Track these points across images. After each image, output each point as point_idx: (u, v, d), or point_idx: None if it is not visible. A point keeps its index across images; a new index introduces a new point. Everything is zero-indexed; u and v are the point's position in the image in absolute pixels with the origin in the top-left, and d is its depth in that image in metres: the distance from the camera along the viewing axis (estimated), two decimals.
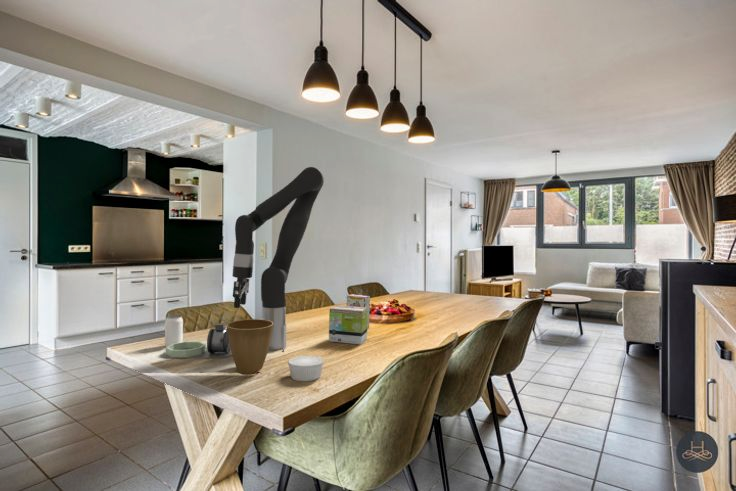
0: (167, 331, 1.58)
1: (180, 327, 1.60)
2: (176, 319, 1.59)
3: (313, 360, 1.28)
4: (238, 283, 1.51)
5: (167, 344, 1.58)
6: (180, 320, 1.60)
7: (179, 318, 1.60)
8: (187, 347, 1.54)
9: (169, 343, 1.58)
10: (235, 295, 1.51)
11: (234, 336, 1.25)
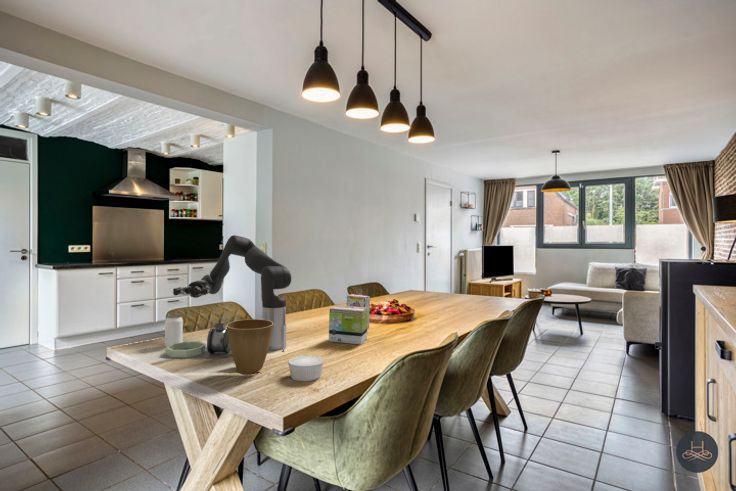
0: (167, 331, 1.58)
1: (180, 327, 1.60)
2: (176, 319, 1.59)
3: (313, 360, 1.28)
4: None
5: (167, 344, 1.58)
6: (180, 320, 1.60)
7: (179, 318, 1.60)
8: (187, 347, 1.54)
9: (169, 343, 1.58)
10: None
11: (234, 336, 1.25)
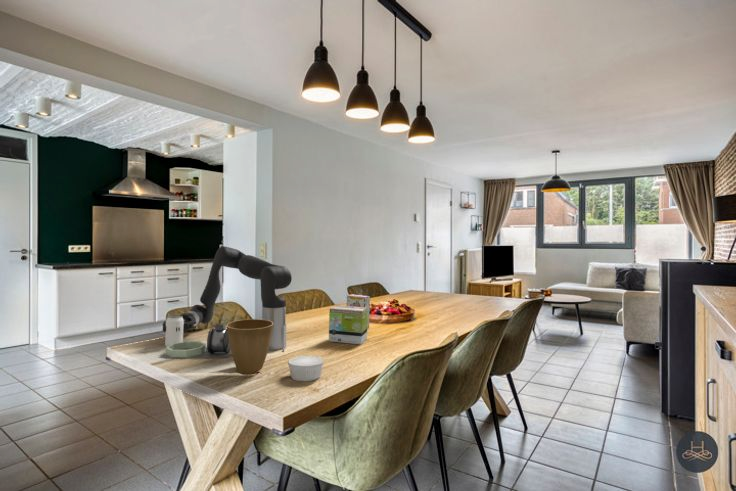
0: (168, 331, 1.58)
1: (181, 327, 1.60)
2: (177, 319, 1.59)
3: (313, 360, 1.28)
4: None
5: (168, 344, 1.58)
6: (181, 320, 1.61)
7: (180, 318, 1.60)
8: (187, 347, 1.54)
9: (170, 343, 1.58)
10: None
11: (234, 336, 1.25)
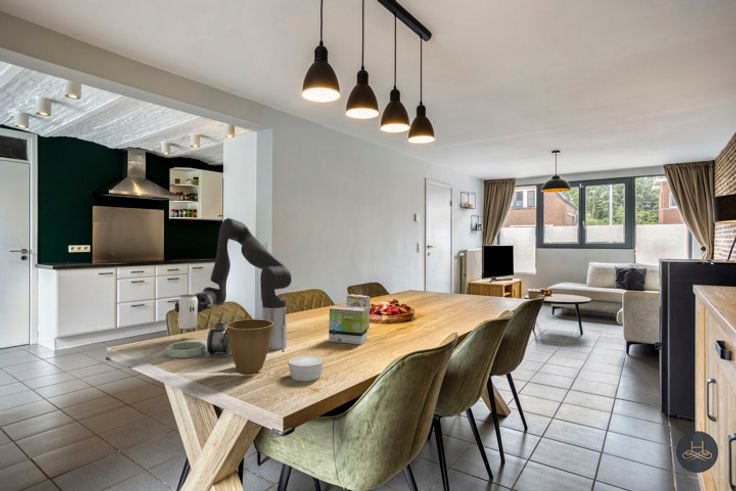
0: (181, 311, 1.46)
1: (195, 307, 1.48)
2: (191, 298, 1.47)
3: (313, 360, 1.28)
4: None
5: (181, 325, 1.46)
6: (195, 299, 1.48)
7: (194, 297, 1.48)
8: (187, 347, 1.54)
9: (183, 324, 1.46)
10: None
11: (234, 336, 1.25)
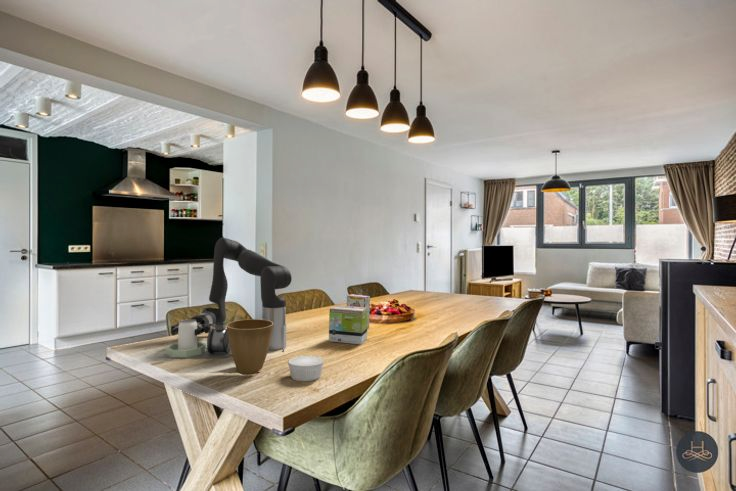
0: (181, 336, 1.46)
1: None
2: (191, 323, 1.47)
3: (313, 360, 1.28)
4: None
5: None
6: (195, 324, 1.48)
7: (194, 322, 1.48)
8: None
9: (183, 349, 1.46)
10: None
11: (234, 336, 1.25)
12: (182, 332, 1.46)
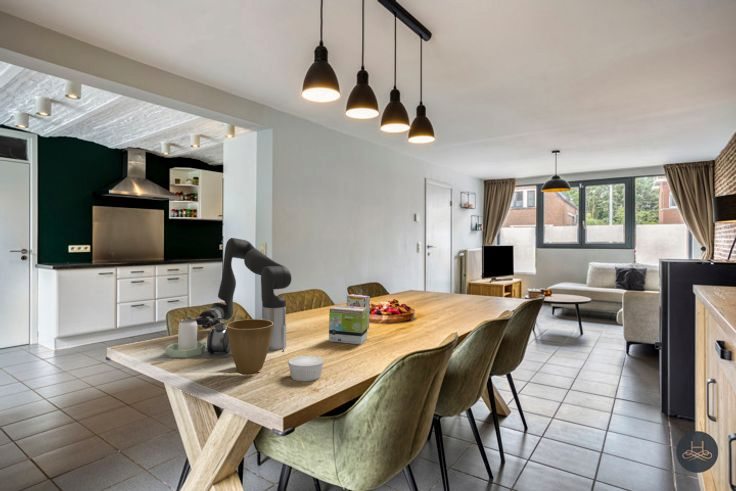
0: (181, 336, 1.46)
1: (195, 332, 1.48)
2: (191, 323, 1.47)
3: (313, 360, 1.28)
4: None
5: None
6: (195, 324, 1.48)
7: (194, 322, 1.48)
8: None
9: (183, 349, 1.46)
10: None
11: (234, 336, 1.25)
12: (182, 332, 1.46)
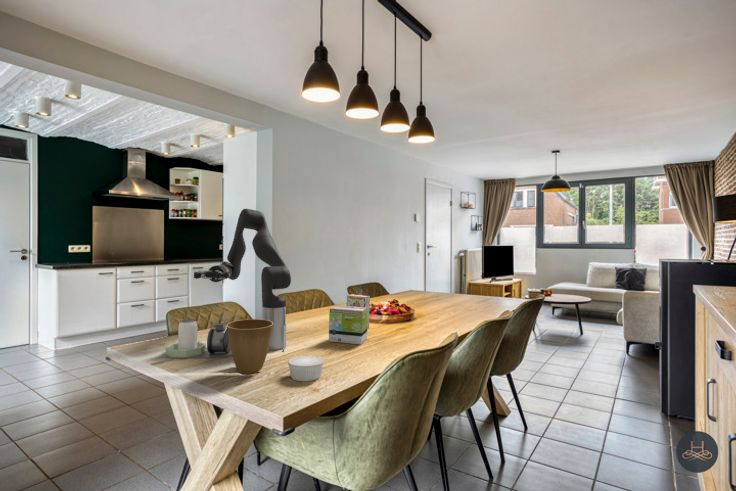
0: (181, 336, 1.46)
1: (195, 332, 1.48)
2: (191, 323, 1.47)
3: (313, 360, 1.28)
4: None
5: None
6: (195, 324, 1.48)
7: (194, 322, 1.48)
8: None
9: (183, 349, 1.46)
10: None
11: (234, 336, 1.25)
12: (182, 332, 1.46)
